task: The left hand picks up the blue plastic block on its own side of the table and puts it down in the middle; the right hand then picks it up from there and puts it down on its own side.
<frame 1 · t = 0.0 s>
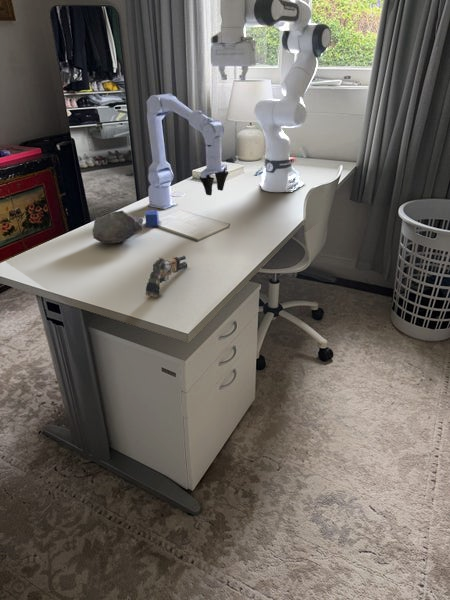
left hand: (214, 192, 164), 10 cm above the table, tool pointing down, fingers open, 7 cm apart
right hand: (233, 80, 161), 48 cm above the table, tool pointing down, fingers open, 8 cm apart
stone: (120, 242, 149), on the table
block: (152, 224, 164), on the table
toy gun: (168, 283, 121), on the table
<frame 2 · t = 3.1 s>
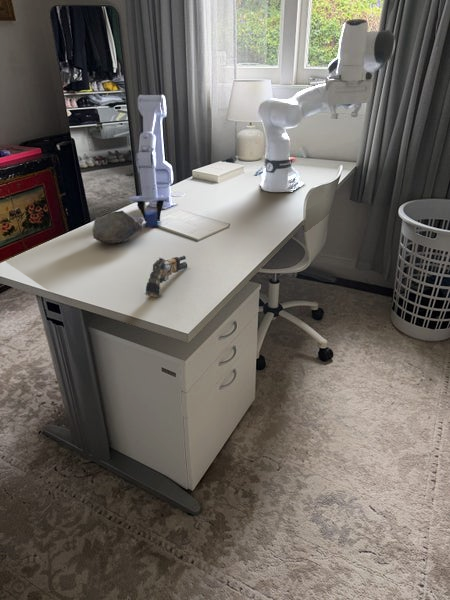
left hand: (152, 220, 163), 2 cm above the table, tool pointing down, fingers closed on block, 4 cm apart
right hand: (344, 117, 154), 36 cm above the table, tool pointing down, fingers open, 8 cm apart
block: (152, 224, 164), on the table, touching left hand
everything else where it was.
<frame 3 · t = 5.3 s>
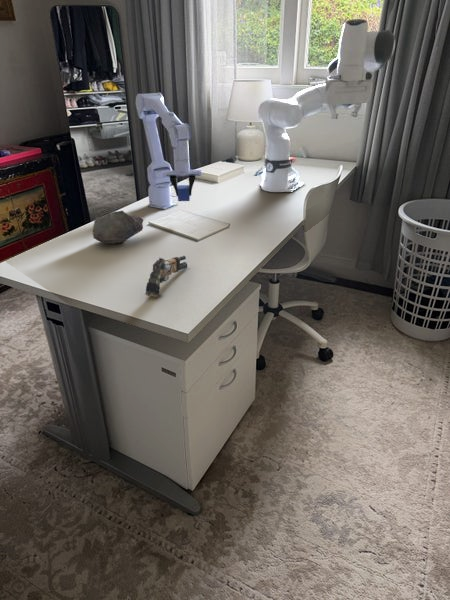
left hand: (183, 195, 164), 9 cm above the table, tool pointing down, fingers closed on block, 4 cm apart
right hand: (344, 117, 154), 36 cm above the table, tool pointing down, fingers open, 8 cm apart
block: (184, 199, 165), point 8 cm above the table, touching left hand
everything else where it was.
when the left hand's fingers open (2 cm above the table, at t = 7.9 s): block stays where it is, on the table.
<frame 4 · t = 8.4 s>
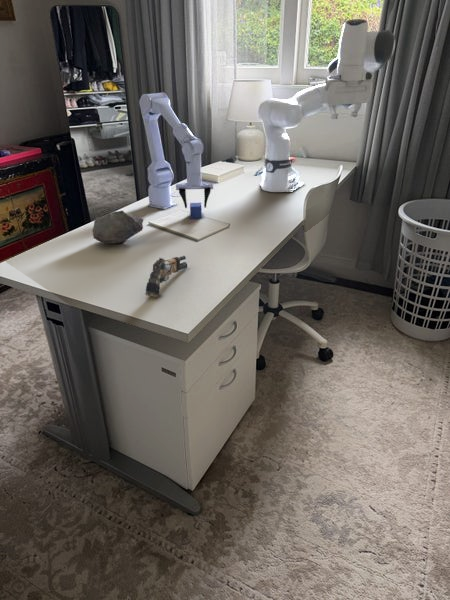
left hand: (195, 207, 169), 4 cm above the table, tool pointing down, fingers open, 7 cm apart
right hand: (344, 117, 154), 36 cm above the table, tool pointing down, fingers open, 8 cm apart
block: (196, 216, 171), on the table
everything else where it was.
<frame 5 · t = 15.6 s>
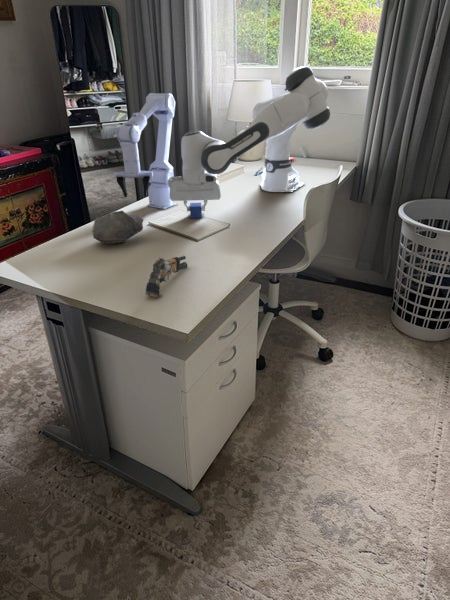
left hand: (135, 196, 164), 9 cm above the table, tool pointing down, fingers open, 7 cm apart
right hand: (196, 210, 170), 2 cm above the table, tool pointing down, fingers closed on block, 4 cm apart
block: (196, 216, 171), on the table, touching right hand
everything else where it was.
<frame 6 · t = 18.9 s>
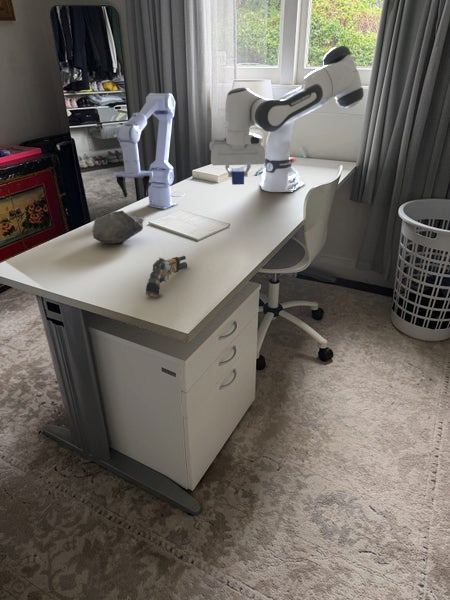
left hand: (135, 196, 164), 9 cm above the table, tool pointing down, fingers open, 7 cm apart
right hand: (237, 176, 160), 16 cm above the table, tool pointing down, fingers closed on block, 4 cm apart
block: (237, 182, 161), point 14 cm above the table, touching right hand
everything else where it was.
when the right hand's fingers open (3 cm above the table, at t = 22.5 s): block stays where it is, on the table.
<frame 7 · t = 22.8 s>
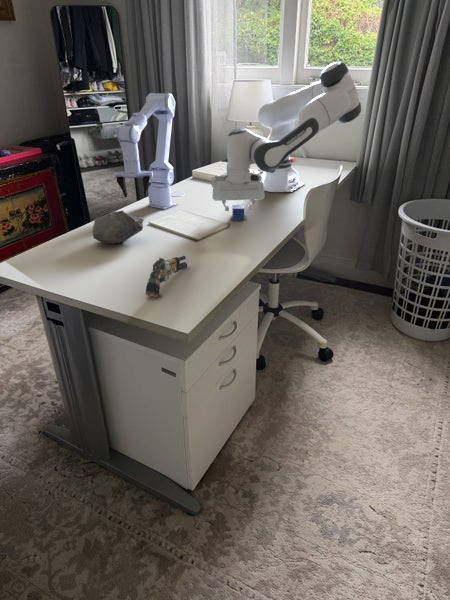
left hand: (135, 196, 164), 9 cm above the table, tool pointing down, fingers open, 7 cm apart
right hand: (238, 210, 167), 3 cm above the table, tool pointing down, fingers open, 8 cm apart
block: (238, 218, 168), on the table
everything else where it was.
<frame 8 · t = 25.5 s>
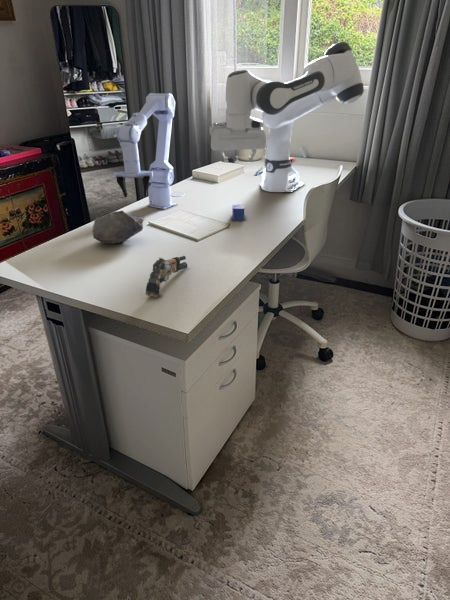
left hand: (135, 196, 164), 9 cm above the table, tool pointing down, fingers open, 7 cm apart
right hand: (238, 162, 157), 22 cm above the table, tool pointing down, fingers open, 8 cm apart
nothing on the table moved.
at the end: block inside the target area (0.1 cm from its centre), on the table; block tilted 0°; the two hands never held the block at the same time; the left hand is holding nothing; the right hand is holding nothing; block at rest at the end (0.0 cm/s) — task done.
